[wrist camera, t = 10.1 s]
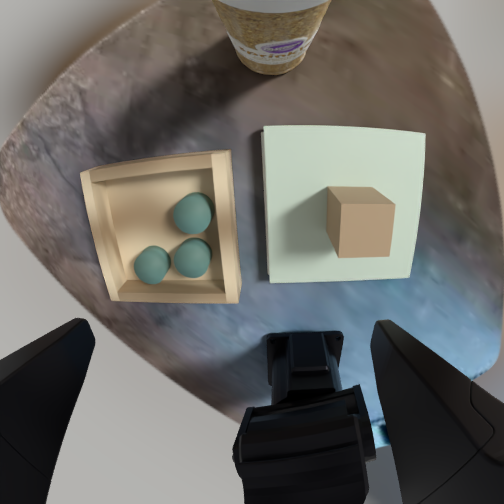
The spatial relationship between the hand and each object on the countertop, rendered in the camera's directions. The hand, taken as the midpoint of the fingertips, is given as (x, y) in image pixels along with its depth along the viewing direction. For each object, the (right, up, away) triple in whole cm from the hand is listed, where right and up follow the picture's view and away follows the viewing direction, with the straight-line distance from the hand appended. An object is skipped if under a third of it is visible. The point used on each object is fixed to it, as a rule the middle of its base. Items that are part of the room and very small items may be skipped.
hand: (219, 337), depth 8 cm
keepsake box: (-5, +4, +13) cm, 14 cm away
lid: (+7, +6, +11) cm, 14 cm away
